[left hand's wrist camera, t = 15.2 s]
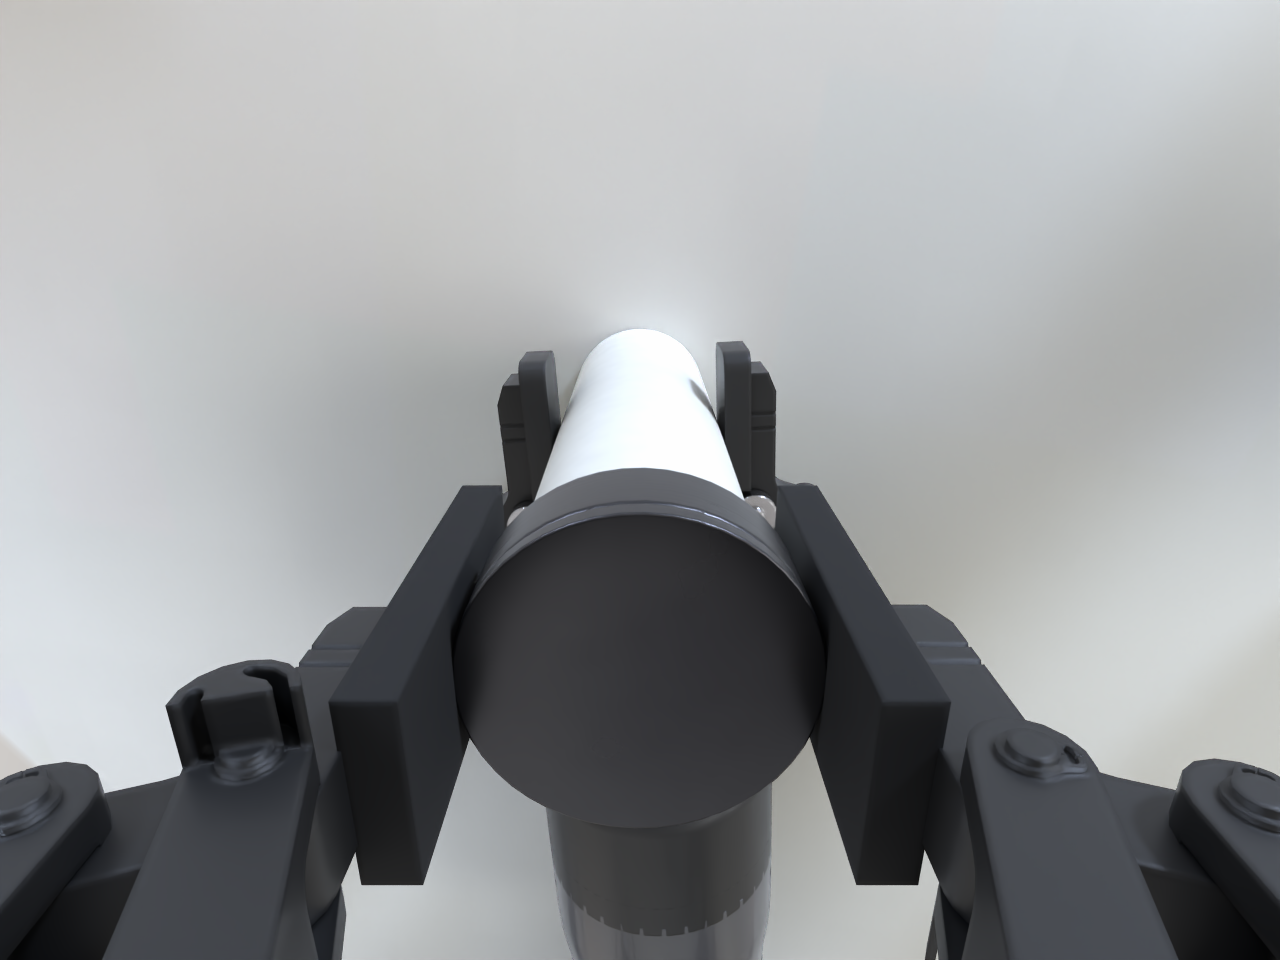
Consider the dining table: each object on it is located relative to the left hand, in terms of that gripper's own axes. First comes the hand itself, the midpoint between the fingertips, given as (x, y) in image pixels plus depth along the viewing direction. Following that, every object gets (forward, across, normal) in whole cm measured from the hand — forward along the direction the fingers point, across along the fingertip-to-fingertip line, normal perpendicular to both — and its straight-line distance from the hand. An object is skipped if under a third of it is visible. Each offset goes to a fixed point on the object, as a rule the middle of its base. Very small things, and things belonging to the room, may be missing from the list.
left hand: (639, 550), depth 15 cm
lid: (-4, 0, 0) cm, 4 cm away
